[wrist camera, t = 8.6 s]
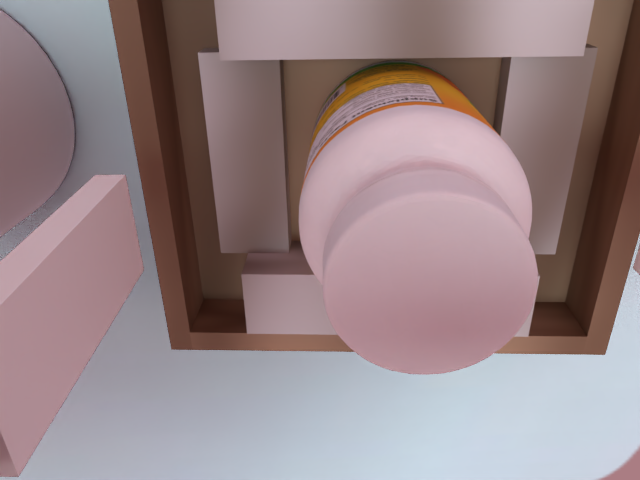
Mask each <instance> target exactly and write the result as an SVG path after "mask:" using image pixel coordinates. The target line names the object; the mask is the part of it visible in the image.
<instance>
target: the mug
mask: <svg viewBox="0 0 640 480" xmlns="http://www.w3.org/2000/svg"><path fill="white" fill-rule="evenodd" d="M74 145H75V128H74V119H73V113H72V109H71V105H70V101H69V98H68V95H67V92H66V90H65V87H64V85H63V83H62V81H61V79H60V77H59V75H58V73H57V71H56V69H55V67H54V66H53V64H52V63H51V61H50V59H49V58H48V56H47V55H46V53H45V52H44V51H43V50H42V48H41V47H40V46H39V45H38V43H37V42H36V41H35V40H34V39H33V38H32V37H31V36H30V35H29V34H28V33H27V32H26V31H25V30H24V29H23V27H22V26H20V25H19V24H18V23H17V22H16V21H14V20H13V19H12V18H11V17H10V16H8V15H7V14H6V13H4V12H3V11H1V10H0V237H1V236H3V235H4V234H5V233H6V232H8V231H9V230H10V229H12V228H13V227H14V226H16V225H17V224H18V223H20V222H21V221H22V220H24V219H25V218H26V217H28V216H29V215H30V214H32V213H33V212H34V211H36V210H37V209H38V208H39V207H41V206H42V205H43V204H44V203H45V202H46V201H47V200H48V199H49V198H50V197H51V196H52V195H53V194H54V193H55V192H56V190H57V189H58V188H59V186H60V185H61V183H62V181H63V180H64V178H65V176H66V174H67V172H68V170H69V167H70V164H71V161H72V157H73V151H74Z"/></svg>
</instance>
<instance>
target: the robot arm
mask: <svg viewBox="0 0 640 480" xmlns="http://www.w3.org/2000/svg"><path fill="white" fill-rule="evenodd" d="M633 268H634V269H635V271H636V272H637V273H638V274H639V275H640V246H639V249H638V253H637V256H636V259H635V263H634V266H633ZM143 271H144V267H143V262H142V257H141V252H140V246H139V241H138V236H137V231H136V226H135V221H134V216H133V211H132V206H131V200H130V195H129V190H128V185H127V180H126V175H94V176H93V177H92V178H91V179H90V180H89V181H88V182H87V183H86V184H85V185H84V186H82V187H81V188H80V189H79V190H78V191H77V192H76V193H75V194H74V195H73V196H71V197H70V198H69V199H68V200H67V201H66V202H65V203H64V204H63V205H62V206H61V207H59V208H58V209H57V210H56V211H55V212H54V213H53V214H52V215H51V216H50V217H48V218H47V219H46V220H45V221H44V222H43V223H42V224H41V225H40V226H39V227H38V228H36V229H35V230H34V231H33V232H32V233H31V234H30V235H29V236H28V237H27V238H25V239H24V240H23V241H22V242H21V243H20V244H19V245H18V246H17V247H16V248H15V249H13V250H12V251H11V252H10V253H9V254H8V255H7V256H6V257H5V258H4V259H2V260H1V261H0V477H19V475H20V474H21V472H22V470H23V469H24V467H25V465H26V464H27V462H28V460H29V459H30V457H31V455H32V454H33V452H34V451H35V449H36V447H37V446H38V444H39V442H40V441H41V439H42V437H43V436H44V434H45V432H46V431H47V429H48V427H49V426H50V424H51V422H52V421H53V419H54V418H55V416H56V414H57V413H58V411H59V409H60V408H61V406H62V404H63V403H64V401H65V399H66V398H67V396H68V394H69V393H70V391H71V390H72V388H73V386H74V385H75V383H76V381H77V380H78V378H79V376H80V375H81V373H82V371H83V370H84V368H85V366H86V365H87V363H88V361H89V360H90V358H91V357H92V355H93V353H94V352H95V350H96V348H97V347H98V345H99V343H100V342H101V340H102V338H103V337H104V335H105V333H106V332H107V330H108V329H109V327H110V325H111V324H112V322H113V320H114V319H115V317H116V315H117V314H118V312H119V310H120V309H121V307H122V305H123V304H124V302H125V301H126V299H127V297H128V296H129V294H130V292H131V291H132V289H133V287H134V286H135V284H136V282H137V281H138V279H139V277H140V276H141V274H142V272H143Z"/></svg>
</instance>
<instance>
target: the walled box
mask: <svg viewBox="0 0 640 480" xmlns="http://www.w3.org/2000/svg"><path fill="white" fill-rule="evenodd" d="M108 1H109V7H110V12H111V18H112V23H113V29H114V34H115V40H116V46H117V51H118V57H119V62H120V68H121V73H122V79H123V84H124V90H125V95H126V101H127V106H128V112H129V117H130V123H131V128H132V134H133V139H134V145H135V150H136V156H137V161H138V167H139V172H140V178H141V183H142V189H143V194H144V200H145V205H146V211H147V216H148V222H149V227H150V233H151V238H152V244H153V250H154V255H155V261H156V266H157V272H158V277H159V283H160V288H161V294H162V299H163V305H164V310H165V316H166V321H167V327H168V332H169V338H170V343H171V349H179V350H262V351H345V352H354V351H353V350H352V349H351V348H350V347H349V346H348V345H347V344H346V343H345V342H344V341H343V340H342V339H341V338H340V337H339V335H338V334H337V332H336V331H335V329H334V328H333V326H332V324H331V322H330V320H329V318H328V315H327V312H326V309H325V305H324V299H323V289H322V284H321V283H320V282H319V280H318V279H317V278H316V276H315V275H314V273H313V271H312V270H311V268H310V266H309V264H308V262H307V259H306V257H305V254H304V252H303V249H302V244H301V240H300V233H299V202H300V195H301V190H302V185H303V181H304V176H305V171H306V166H307V161H308V155H309V150H310V144H311V139H312V134H313V130H314V126H315V122H316V119H317V117H318V114H319V112H320V109H321V107H322V106H323V104H324V102H325V100H326V99H327V97H328V96H329V95H330V93H331V92H332V91H333V90H334V89H335V88H336V86H337V85H339V84H340V83H341V82H342V81H343V80H344V79H346V78H347V77H348V76H350V75H351V74H353V73H354V72H356V71H358V70H360V69H362V68H364V67H366V66H369V65H372V64H376V63H381V62H388V61H408V62H414V63H419V64H422V65H425V66H427V67H430V68H432V69H434V70H436V71H438V72H440V73H441V74H442V75H444V76H445V77H446V78H448V79H449V80H450V81H451V82H452V83H454V84H455V85H456V86H457V87H458V89H459V90H460V91H461V92H462V93H463V94H464V95H465V96H466V97H467V98H468V100H469V101H470V102H471V103H472V104H473V106H474V107H475V108H476V109H477V110H478V111H479V112H480V114H481V115H482V116H483V117H484V118H485V119H486V121H487V122H488V123H489V124H490V125H491V126H492V128H493V129H494V130H495V131H496V132H497V133H498V134H499V135H500V137H501V138H502V139H503V140H504V141H505V142H506V144H507V145H508V146H509V148H510V149H511V150H512V152H513V153H514V155H515V156H516V158H517V159H518V161H519V163H520V165H521V167H522V169H523V171H524V173H525V175H526V178H527V181H528V184H529V188H530V193H531V199H532V223H531V229H530V234H529V242H530V244H531V246H532V249H533V251H534V254H535V259H536V263H537V270H538V281H537V292H536V296H535V299H534V303H533V306H532V309H531V311H530V313H529V315H528V317H527V319H526V320H525V322H524V324H523V325H522V326H521V328H520V329H519V331H518V332H517V333H516V334H515V335H514V336H513V338H512V339H511V340H510V341H509V342H508V343H506V344H505V345H504V346H503V347H502V348H501V349H499V350H498V351H496V352H495V353H511V354H594V355H605V353H606V349H607V346H608V342H609V339H610V335H611V332H612V328H613V325H614V321H615V318H616V314H617V311H618V307H619V304H620V300H621V297H622V293H623V290H624V286H625V282H626V279H627V275H628V272H629V268H630V265H631V261H632V258H633V254H634V251H635V247H636V244H637V240H638V237H639V233H640V0H108Z"/></svg>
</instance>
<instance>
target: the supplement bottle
mask: <svg viewBox="0 0 640 480" xmlns="http://www.w3.org/2000/svg"><path fill="white" fill-rule="evenodd" d="M531 223H532V199H531V193H530V188H529V184H528V181H527V178H526V175H525V173H524V171H523V169H522V167H521V165H520V163H519V161H518V159H517V158H516V156H515V155H514V153H513V152H512V150H511V149H510V148H509V146H508V145H507V144H506V142H505V141H504V140H503V139H502V138H501V137H500V135H499V134H498V133H497V132H496V131H495V130H494V129H493V128H492V126H491V125H490V124H489V123H488V122H487V121H486V119H485V118H484V117H483V116H482V115H481V114H480V112H479V111H478V110H477V109H476V108H475V107H474V106H473V104H472V103H471V102H470V101H469V100H468V98H467V97H466V96H465V95H464V94H463V93H462V92H461V91H460V90H459V89H458V87H457V86H456V85H455V84H454V83H452V82H451V81H450V80H449V79H448V78H446V77H445V76H444V75H442V74H441V73H440V72H438V71H436V70H434V69H432V68H430V67H427V66H425V65H422V64H419V63H414V62H408V61H388V62H381V63H376V64H372V65H369V66H366V67H364V68H362V69H360V70H358V71H356V72H354V73H353V74H351V75H350V76H348V77H347V78H346V79H344V80H343V81H342V82H341V83H340V84H339V85H337V86H336V88H335V89H334V90H333V91H332V92H331V93H330V95H329V96H328V97H327V99H326V100H325V102H324V104H323V106H322V107H321V109H320V112H319V114H318V117H317V119H316V122H315V126H314V130H313V134H312V139H311V144H310V150H309V155H308V161H307V166H306V171H305V176H304V181H303V185H302V190H301V195H300V202H299V233H300V240H301V244H302V249H303V252H304V254H305V257H306V259H307V262H308V264H309V266H310V268H311V270H312V271H313V273H314V275H315V276H316V278H317V279H318V280H319V282H320V283H321V284H322V289H323V299H324V305H325V309H326V312H327V315H328V318H329V320H330V322H331V324H332V326H333V328H334V329H335V331H336V332H337V334H338V335H339V337H340V338H341V339H342V340H343V341H344V342H345V343H346V344H347V345H348V346H349V347H350V348H351V349H352V350H353V351H354V352H356V353H357V354H358V355H360V356H361V357H363V358H364V359H366V360H368V361H370V362H372V363H374V364H376V365H378V366H381V367H383V368H386V369H389V370H392V371H398V372H403V373H408V374H439V373H446V372H451V371H455V370H459V369H462V368H465V367H468V366H471V365H474V364H476V363H478V362H480V361H482V360H484V359H486V358H488V357H489V356H490V355H492V354H493V353H495V352H496V351H498V350H499V349H501V348H502V347H503V346H504V345H505V344H506V343H508V342H509V341H510V340H511V339H512V338H513V336H514V335H515V334H516V333H517V332H518V331H519V329H520V328H521V326H522V325H523V324H524V322H525V320H526V319H527V317H528V315H529V313H530V311H531V309H532V306H533V303H534V299H535V296H536V292H537V281H538V270H537V263H536V259H535V254H534V251H533V249H532V246H531V244H530V242H529V234H530V229H531Z"/></svg>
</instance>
